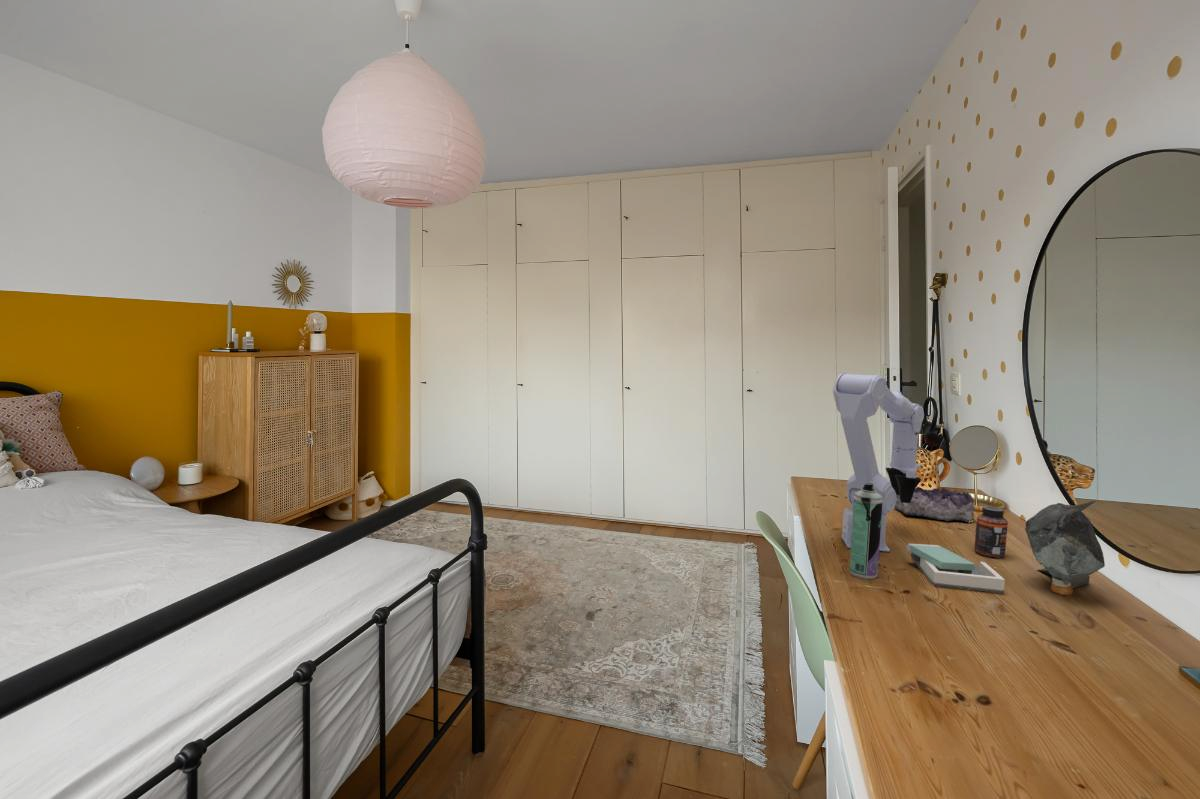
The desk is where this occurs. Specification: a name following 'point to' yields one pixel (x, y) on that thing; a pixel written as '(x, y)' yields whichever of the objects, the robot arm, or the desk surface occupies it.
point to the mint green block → (940, 558)
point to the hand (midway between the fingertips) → (900, 498)
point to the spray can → (866, 533)
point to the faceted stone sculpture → (1065, 545)
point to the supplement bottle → (991, 532)
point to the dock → (964, 577)
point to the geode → (939, 505)
